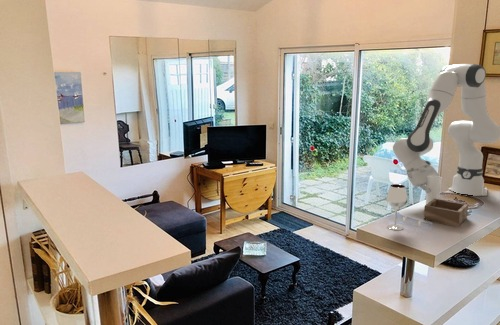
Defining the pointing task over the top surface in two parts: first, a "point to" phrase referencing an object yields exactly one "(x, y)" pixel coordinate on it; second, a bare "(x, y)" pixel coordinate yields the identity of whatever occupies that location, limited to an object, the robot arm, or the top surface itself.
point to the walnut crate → (445, 212)
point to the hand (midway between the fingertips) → (434, 190)
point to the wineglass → (396, 201)
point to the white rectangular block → (433, 188)
